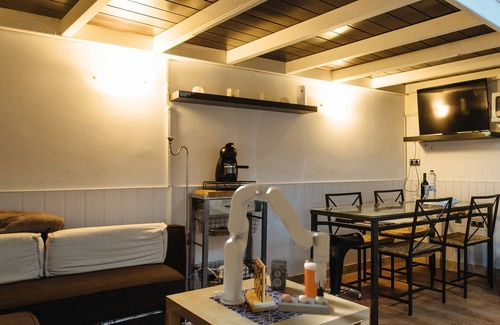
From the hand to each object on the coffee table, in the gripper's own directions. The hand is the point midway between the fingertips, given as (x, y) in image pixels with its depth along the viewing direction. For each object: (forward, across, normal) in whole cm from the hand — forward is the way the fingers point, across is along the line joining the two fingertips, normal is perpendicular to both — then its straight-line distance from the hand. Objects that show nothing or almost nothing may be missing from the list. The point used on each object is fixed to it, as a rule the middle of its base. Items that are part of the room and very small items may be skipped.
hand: (320, 296), depth 197 cm
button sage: (+4, 0, 0) cm, 4 cm away
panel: (+6, 0, -8) cm, 10 cm away
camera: (+6, -28, -21) cm, 36 cm away
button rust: (+4, 0, -16) cm, 17 cm away
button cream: (+4, 0, -8) cm, 9 cm away
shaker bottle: (+6, -16, -3) cm, 17 cm away
